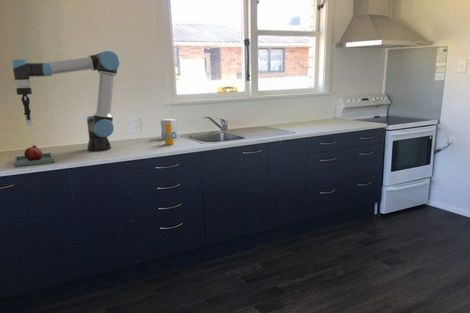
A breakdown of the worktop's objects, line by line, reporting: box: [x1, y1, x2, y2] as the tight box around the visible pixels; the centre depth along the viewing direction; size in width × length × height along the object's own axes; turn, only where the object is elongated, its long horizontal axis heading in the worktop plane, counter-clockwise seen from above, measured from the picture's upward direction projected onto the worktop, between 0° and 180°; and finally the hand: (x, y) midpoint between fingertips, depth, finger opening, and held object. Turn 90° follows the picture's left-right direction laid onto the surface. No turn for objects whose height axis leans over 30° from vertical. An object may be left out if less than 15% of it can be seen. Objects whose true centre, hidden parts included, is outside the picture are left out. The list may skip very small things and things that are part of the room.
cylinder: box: [160, 123, 178, 146], centre depth 263 cm, size 12×10×15 cm
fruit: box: [23, 143, 44, 161], centre depth 218 cm, size 9×10×10 cm
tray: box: [13, 152, 55, 168], centre depth 219 cm, size 20×20×2 cm
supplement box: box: [160, 118, 178, 140], centre depth 288 cm, size 9×9×15 cm
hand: (29, 124), depth 215 cm, fingers open, 13 cm apart
